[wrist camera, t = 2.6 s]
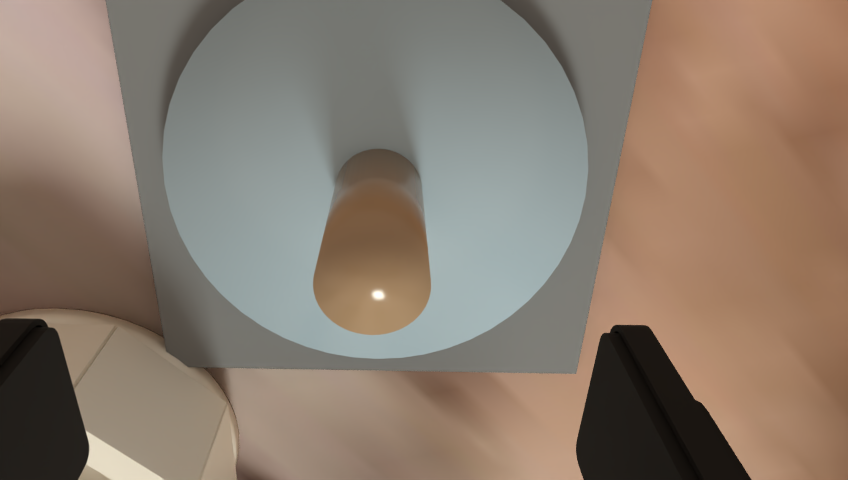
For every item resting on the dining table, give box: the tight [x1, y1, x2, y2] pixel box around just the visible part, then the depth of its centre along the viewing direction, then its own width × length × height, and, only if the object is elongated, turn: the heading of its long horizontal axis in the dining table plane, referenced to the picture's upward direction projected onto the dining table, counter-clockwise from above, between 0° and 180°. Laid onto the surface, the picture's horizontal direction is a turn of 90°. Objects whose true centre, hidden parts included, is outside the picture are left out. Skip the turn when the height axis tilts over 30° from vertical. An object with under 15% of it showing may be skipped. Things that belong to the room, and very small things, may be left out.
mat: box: [106, 0, 652, 374], centre depth 21 cm, size 16×16×1 cm
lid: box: [162, 0, 588, 359], centre depth 18 cm, size 14×14×7 cm
